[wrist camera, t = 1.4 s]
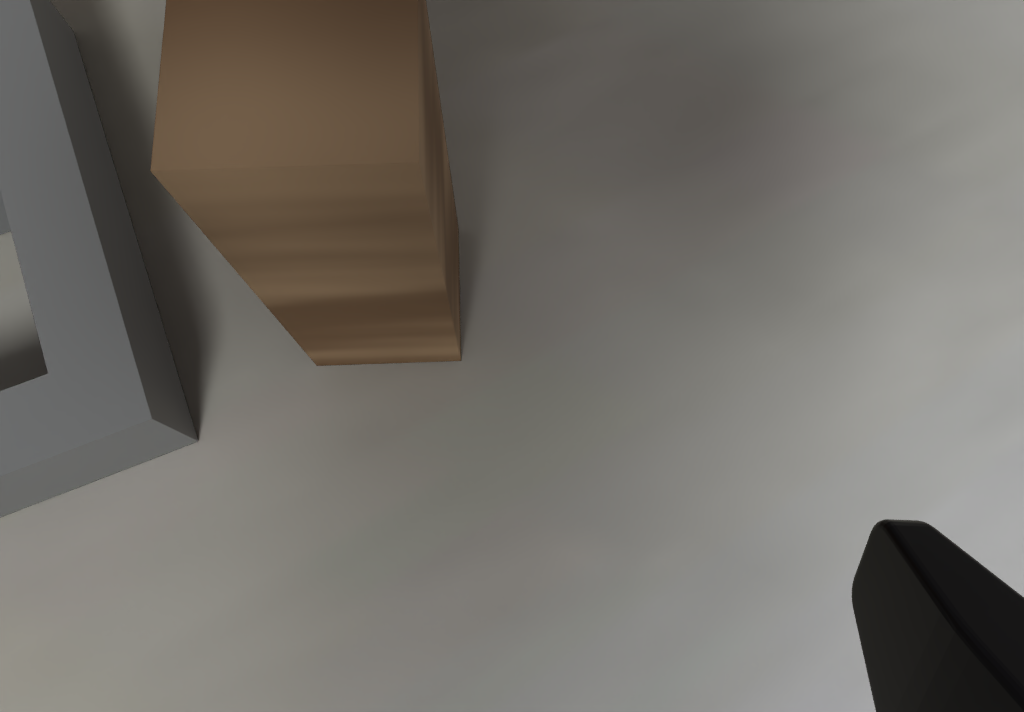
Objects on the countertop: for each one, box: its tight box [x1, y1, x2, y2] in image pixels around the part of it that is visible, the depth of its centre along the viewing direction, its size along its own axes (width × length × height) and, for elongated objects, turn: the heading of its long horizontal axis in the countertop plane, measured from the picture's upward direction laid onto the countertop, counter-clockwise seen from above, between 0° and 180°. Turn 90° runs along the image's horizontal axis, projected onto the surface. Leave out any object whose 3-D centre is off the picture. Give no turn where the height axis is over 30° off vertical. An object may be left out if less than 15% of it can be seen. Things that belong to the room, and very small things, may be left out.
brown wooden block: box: [151, 0, 461, 366], centre depth 18 cm, size 4×4×11 cm
